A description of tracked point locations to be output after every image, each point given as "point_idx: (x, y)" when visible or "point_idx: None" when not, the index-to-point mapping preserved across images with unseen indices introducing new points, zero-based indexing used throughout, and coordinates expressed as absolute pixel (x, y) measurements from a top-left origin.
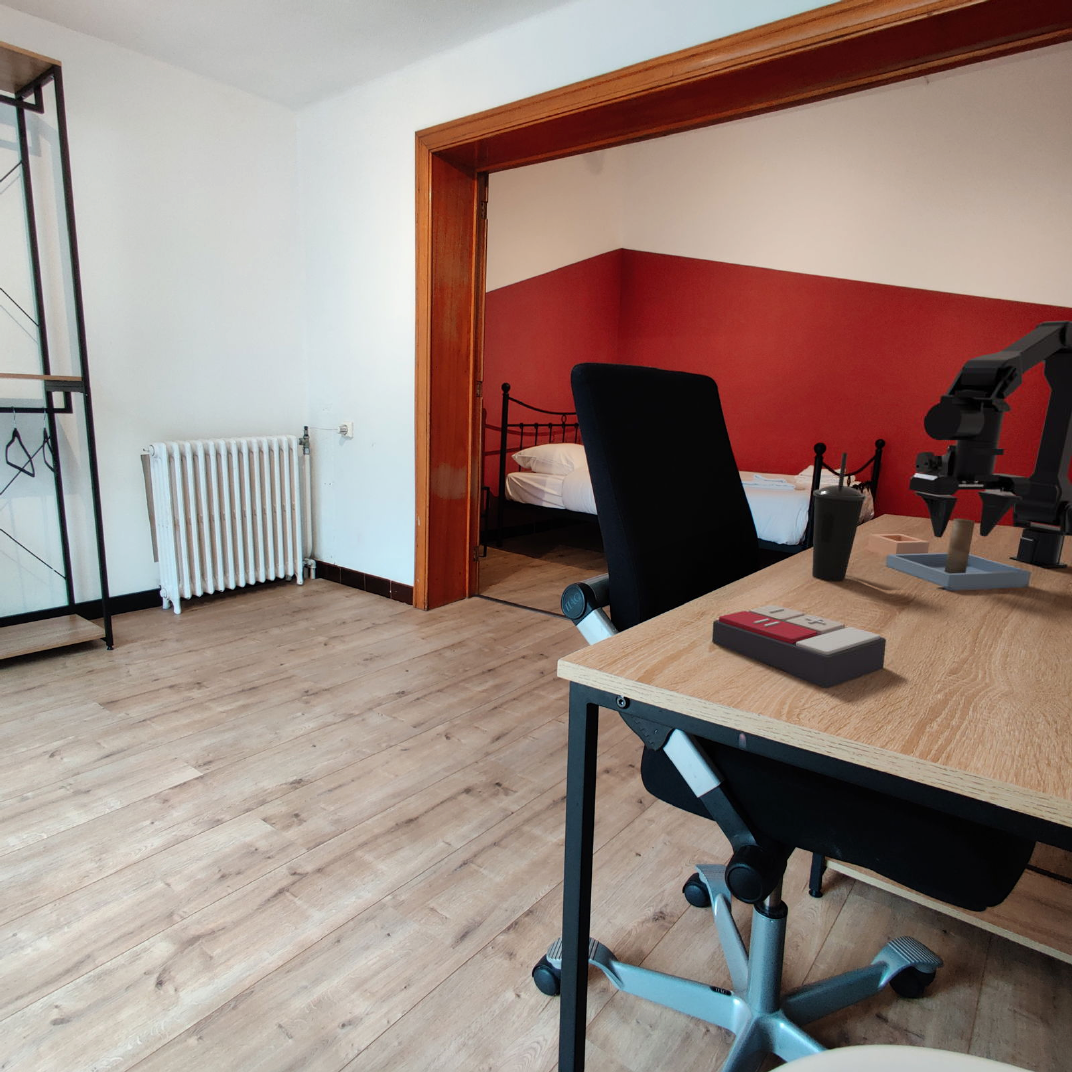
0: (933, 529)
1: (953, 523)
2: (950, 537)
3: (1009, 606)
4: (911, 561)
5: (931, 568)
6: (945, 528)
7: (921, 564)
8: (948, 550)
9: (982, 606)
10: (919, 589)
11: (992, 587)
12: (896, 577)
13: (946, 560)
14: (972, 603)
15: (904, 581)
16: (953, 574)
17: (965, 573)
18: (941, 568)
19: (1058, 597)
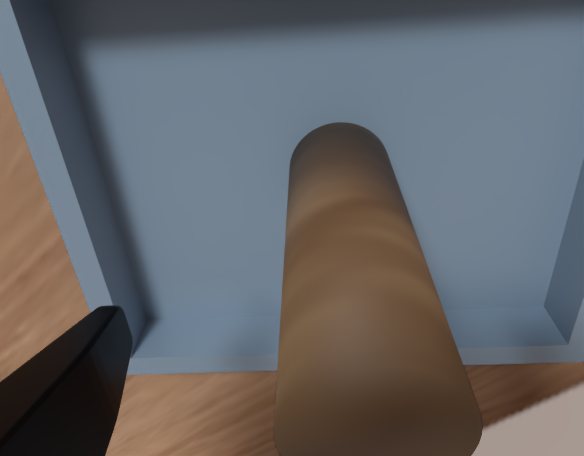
0: (59, 342)
1: (283, 375)
2: (294, 265)
3: (238, 447)
4: (54, 155)
5: (92, 288)
6: (106, 432)
7: (81, 219)
8: (292, 214)
9: (148, 441)
10: (29, 300)
11: None
12: (6, 134)
13: (298, 173)
14: (136, 421)
15: (17, 200)
16: (140, 369)
17: (212, 362)
18: (362, 52)
19: (514, 405)
